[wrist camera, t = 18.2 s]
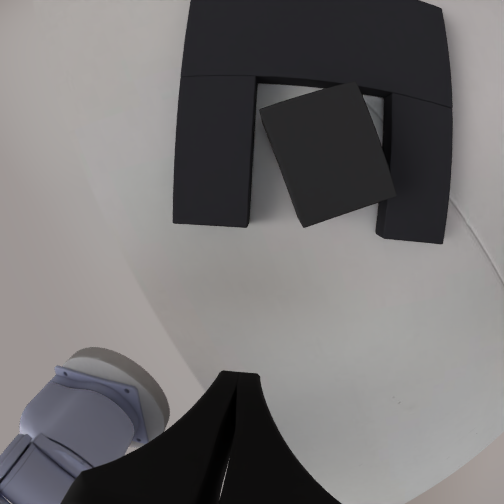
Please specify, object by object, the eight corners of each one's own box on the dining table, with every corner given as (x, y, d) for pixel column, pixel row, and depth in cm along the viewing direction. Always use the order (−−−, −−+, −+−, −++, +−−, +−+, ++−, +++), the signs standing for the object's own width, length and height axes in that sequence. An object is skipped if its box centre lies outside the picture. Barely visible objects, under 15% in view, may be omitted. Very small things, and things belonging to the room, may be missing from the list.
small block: (375, 191, 17) (397, 195, 14) (297, 218, 18) (303, 228, 15) (341, 96, 16) (356, 80, 13) (261, 121, 17) (258, 109, 13)
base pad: (432, 239, 18) (443, 244, 16) (179, 219, 19) (172, 223, 17) (432, 16, 14) (441, 8, 12) (199, -13, 15) (194, -24, 13)
